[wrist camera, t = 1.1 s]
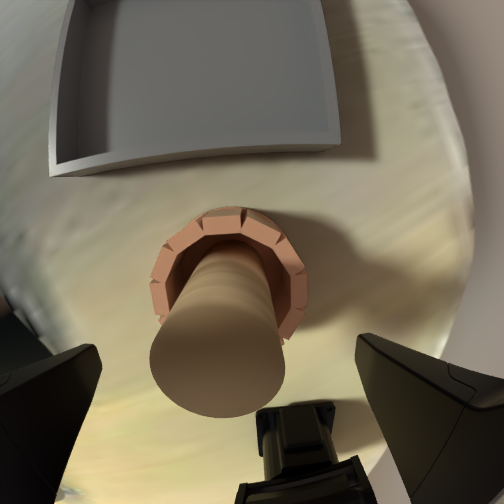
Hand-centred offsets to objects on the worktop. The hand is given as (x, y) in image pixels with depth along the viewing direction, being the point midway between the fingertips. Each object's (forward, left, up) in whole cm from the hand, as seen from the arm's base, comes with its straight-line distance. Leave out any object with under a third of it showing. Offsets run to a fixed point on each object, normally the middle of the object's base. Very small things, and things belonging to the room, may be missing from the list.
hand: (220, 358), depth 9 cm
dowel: (0, 0, -9) cm, 9 cm away
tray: (+14, +2, -10) cm, 17 cm away
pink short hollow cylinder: (0, 0, -10) cm, 10 cm away
